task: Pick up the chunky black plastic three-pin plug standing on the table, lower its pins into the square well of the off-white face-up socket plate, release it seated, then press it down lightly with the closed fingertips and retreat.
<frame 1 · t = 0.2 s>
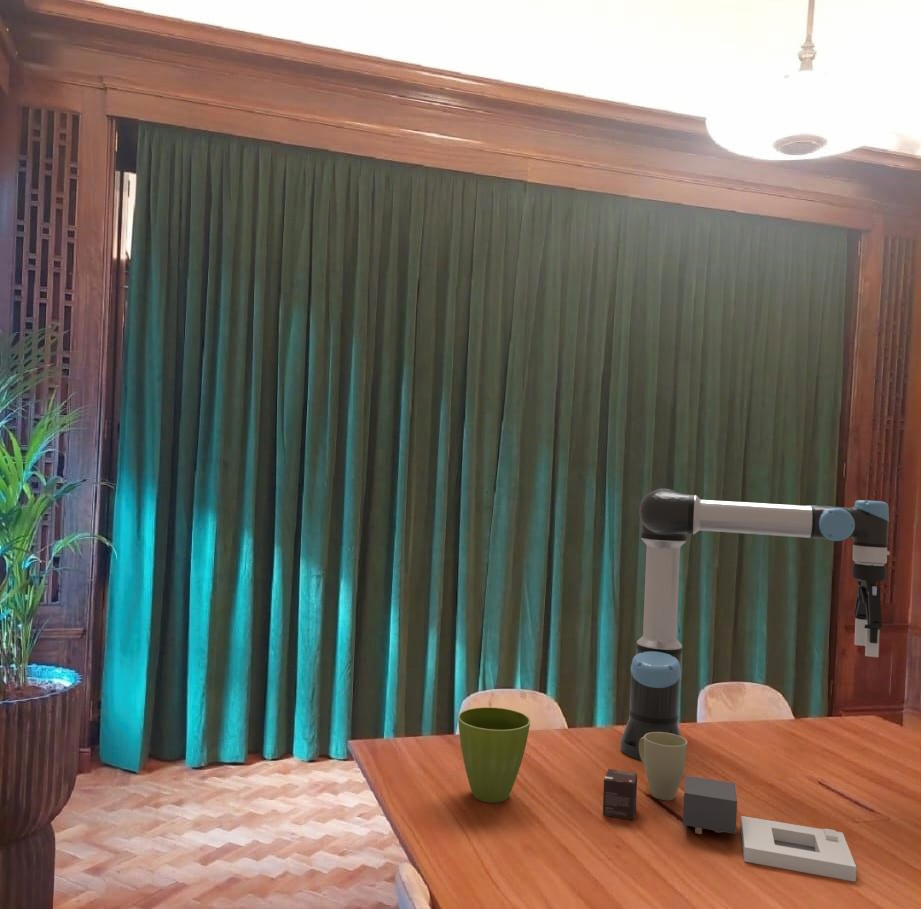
hand: (866, 650, 194), 28 cm above the table, fingers open, 13 cm apart
plug: (708, 829, 153), on the table
socket: (794, 853, 145), on the table
mug: (658, 794, 170), on the table
box: (619, 813, 159), on the table
flower pot: (490, 797, 164), on the table
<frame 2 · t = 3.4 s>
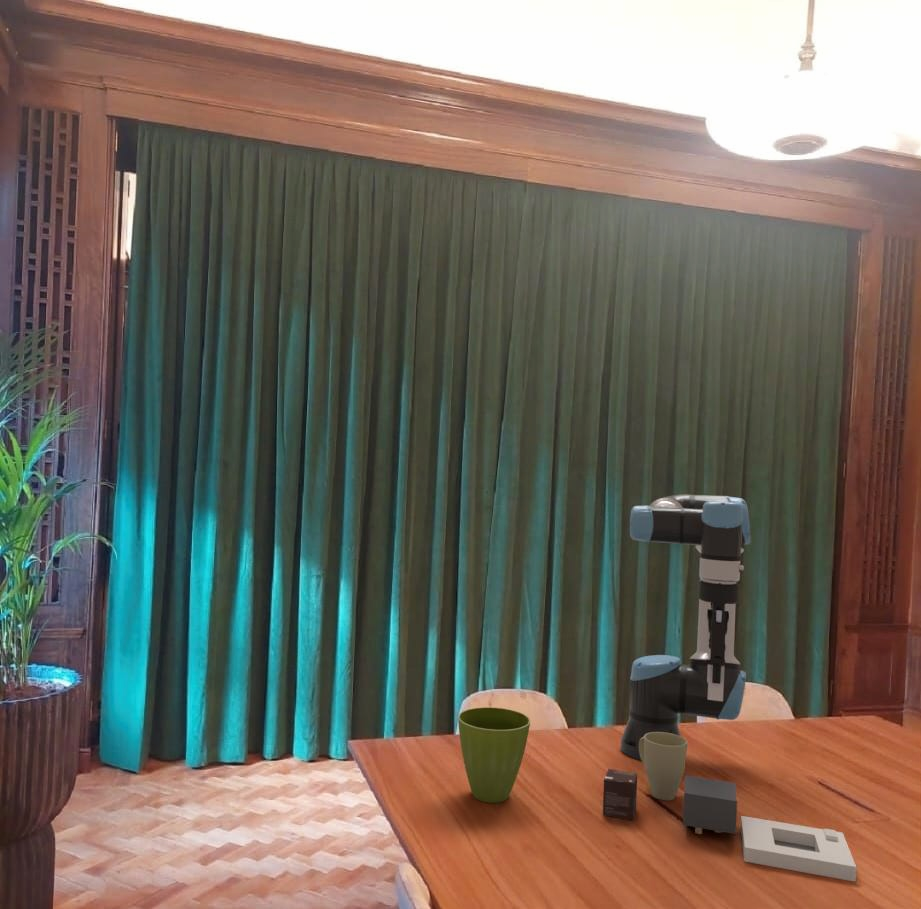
hand: (714, 691, 154), 27 cm above the table, fingers open, 13 cm apart
nothing on the table moved.
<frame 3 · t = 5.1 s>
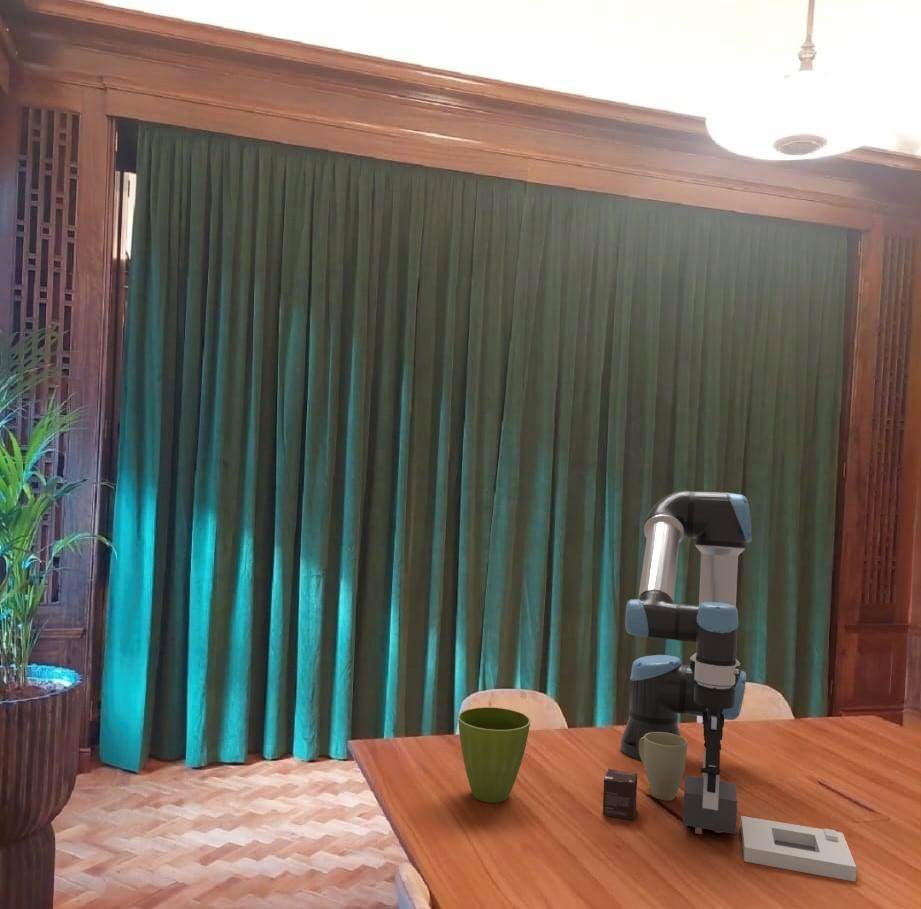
hand: (709, 795, 153), 7 cm above the table, fingers open, 13 cm apart
nothing on the table moved.
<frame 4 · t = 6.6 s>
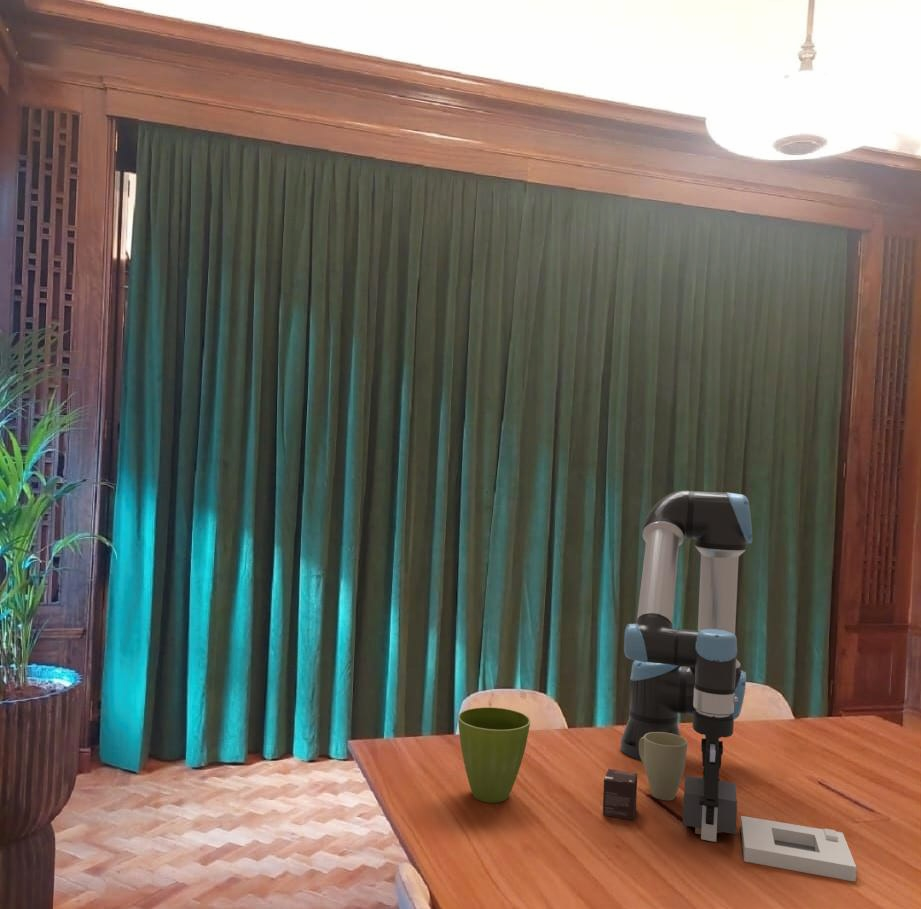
hand: (708, 828, 153), 0 cm above the table, fingers closed on plug, 9 cm apart
plug: (708, 829, 153), on the table, touching gripper
everything else where it was.
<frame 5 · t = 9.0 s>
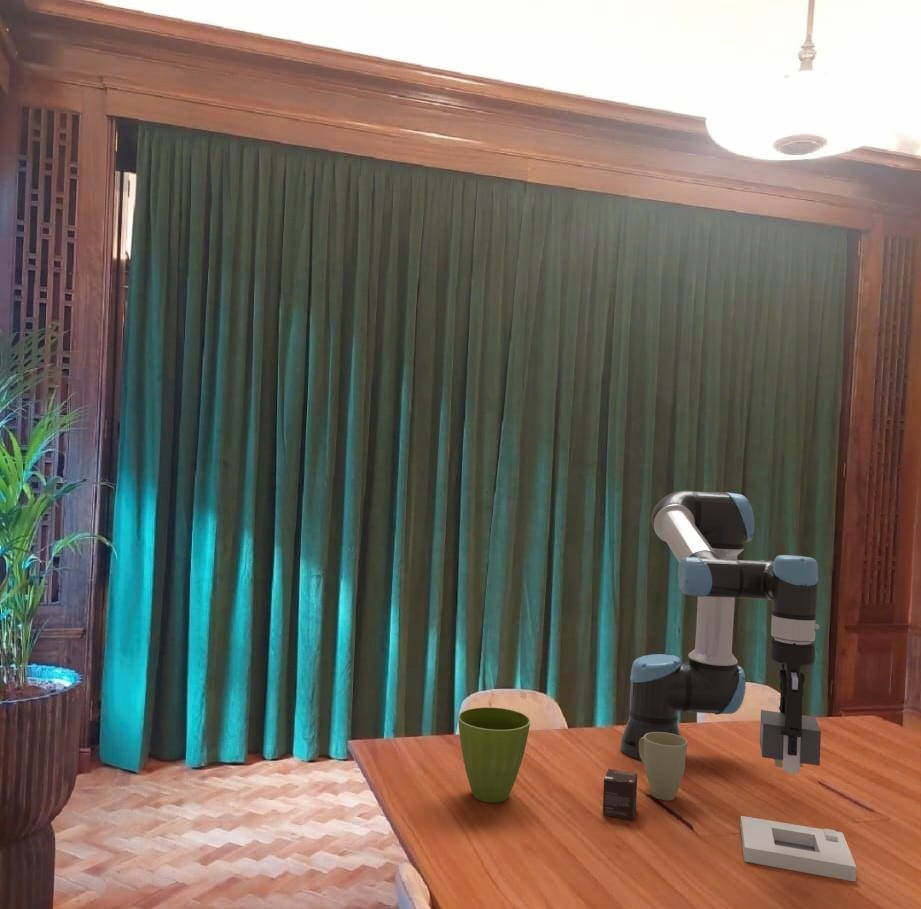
hand: (788, 762, 146), 16 cm above the table, fingers closed on plug, 9 cm apart
plug: (788, 764, 146), point 16 cm above the table, touching gripper
everything else where it was.
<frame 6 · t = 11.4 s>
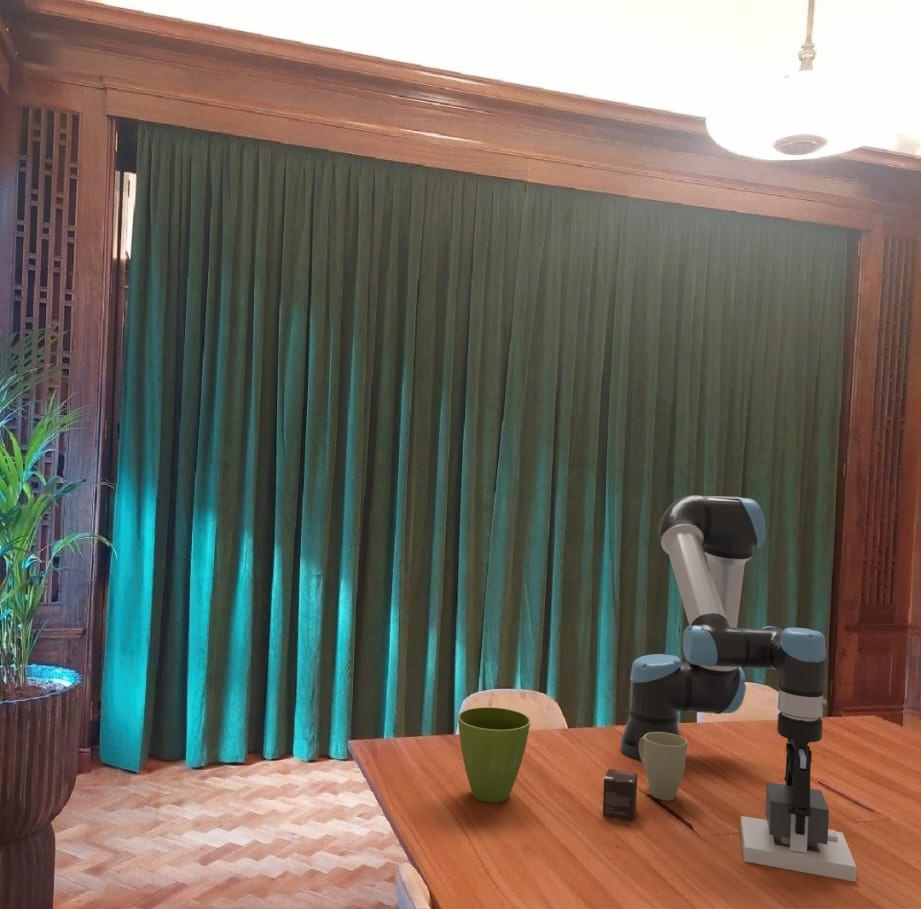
hand: (794, 838, 145), 3 cm above the table, fingers closed on plug, 9 cm apart
plug: (794, 839, 145), point 3 cm above the table, touching gripper
everything else where it was.
when the fingers open (3 cm above the table, at t = 11.5 s): plug drops 2 cm, resting on socket.
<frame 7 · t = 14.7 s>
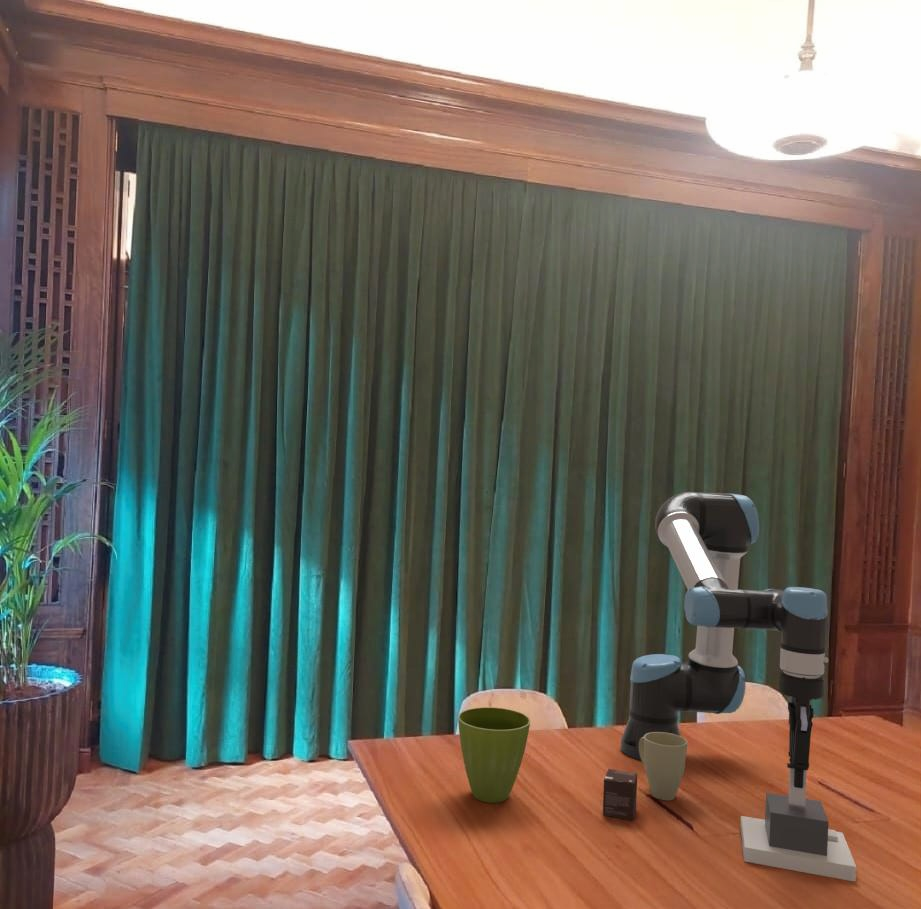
hand: (796, 802, 145), 9 cm above the table, fingers closed
plug: (794, 850, 145), resting on socket
everything else where it was.
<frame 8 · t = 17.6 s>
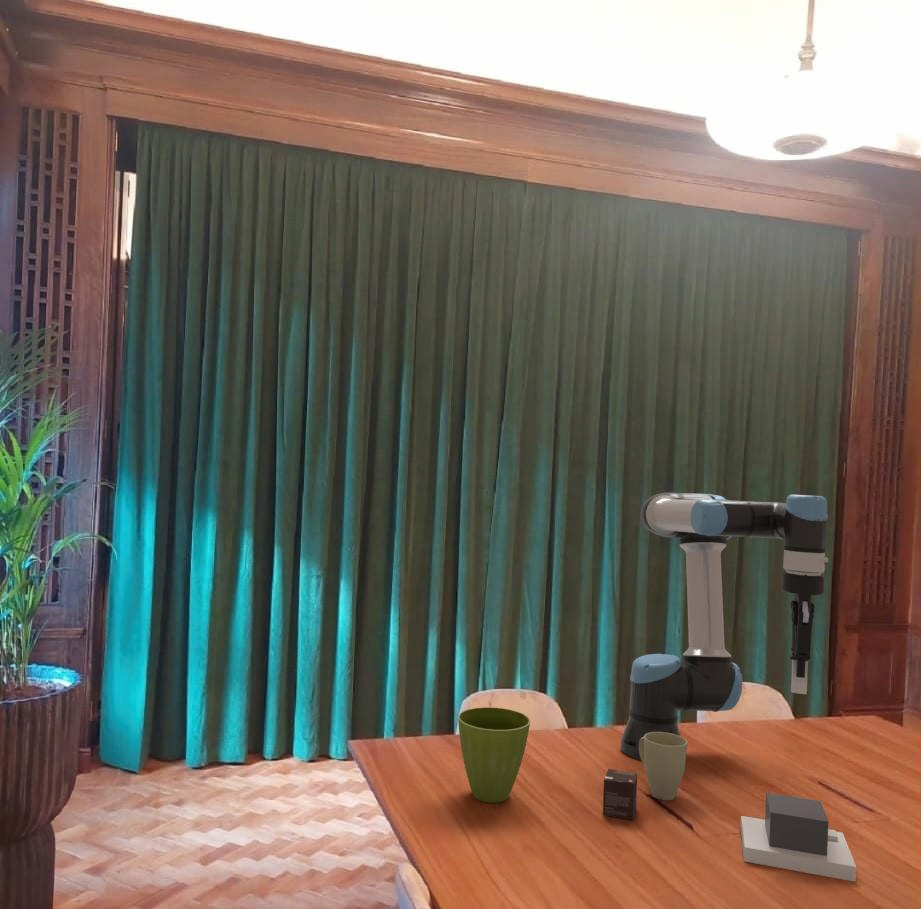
hand: (798, 692, 157), 26 cm above the table, fingers closed
nothing on the table moved.
at the end: plug 0.0 cm off-centre on the socket, point 0.5 cm above the socket's base; plug tilted 0°; the gripper is holding nothing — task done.
